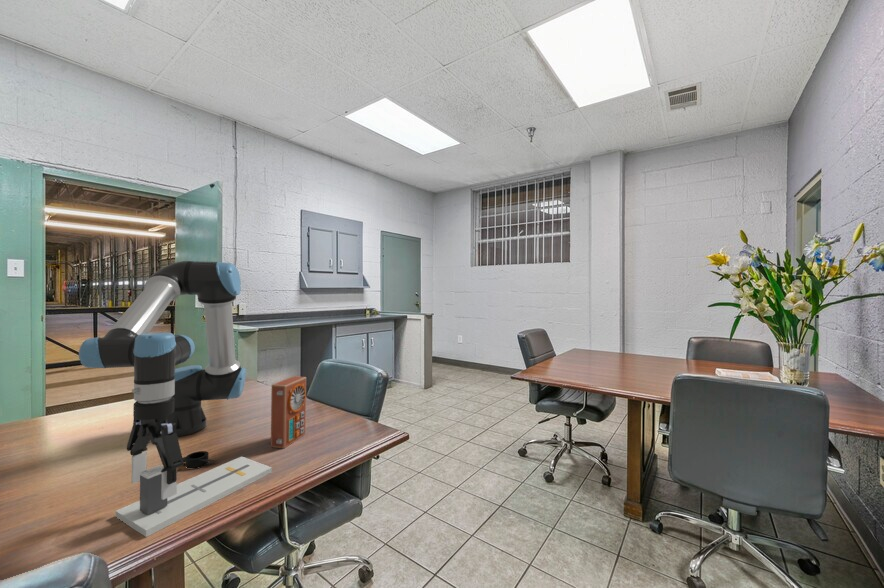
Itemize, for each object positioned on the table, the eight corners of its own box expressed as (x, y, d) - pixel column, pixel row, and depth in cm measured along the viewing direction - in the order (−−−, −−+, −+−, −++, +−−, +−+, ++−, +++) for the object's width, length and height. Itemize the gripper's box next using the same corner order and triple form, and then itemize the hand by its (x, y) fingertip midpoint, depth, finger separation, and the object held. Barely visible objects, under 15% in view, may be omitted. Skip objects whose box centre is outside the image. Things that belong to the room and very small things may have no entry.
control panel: (309, 432, 133) (283, 450, 119) (292, 431, 135) (265, 448, 120) (310, 376, 133) (284, 387, 118) (293, 374, 134) (266, 385, 120)
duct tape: (190, 475, 103) (190, 465, 103) (175, 465, 108) (175, 455, 108) (218, 464, 109) (218, 455, 109) (203, 455, 115) (203, 446, 115)
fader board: (115, 517, 83) (115, 510, 83) (241, 461, 111) (241, 455, 111) (146, 537, 77) (146, 529, 77) (271, 472, 105) (271, 467, 105)
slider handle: (139, 510, 83) (139, 472, 83) (159, 501, 87) (160, 464, 87) (147, 515, 82) (147, 476, 81) (167, 505, 85) (168, 468, 85)
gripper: (109, 394, 86) (108, 482, 86) (164, 412, 75) (163, 512, 75) (146, 387, 93) (145, 468, 93) (202, 403, 82) (201, 495, 82)
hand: (153, 488), depth 84 cm, fingers open, 13 cm apart
